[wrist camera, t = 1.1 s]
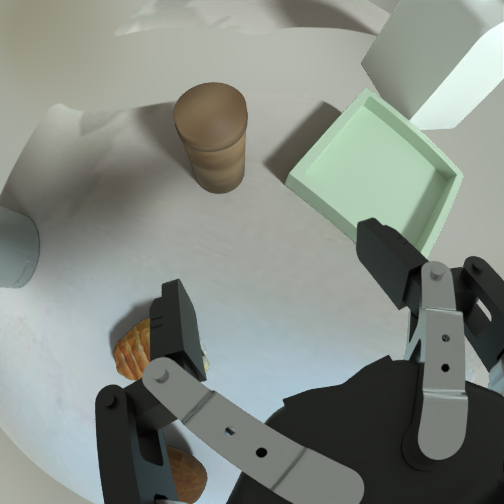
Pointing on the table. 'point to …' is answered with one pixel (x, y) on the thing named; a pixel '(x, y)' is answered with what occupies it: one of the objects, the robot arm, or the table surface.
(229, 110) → the pepper mill
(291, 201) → the table surface
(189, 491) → the potato
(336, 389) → the robot arm
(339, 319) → the table surface
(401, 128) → the bin
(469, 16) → the milk
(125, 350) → the pastry
